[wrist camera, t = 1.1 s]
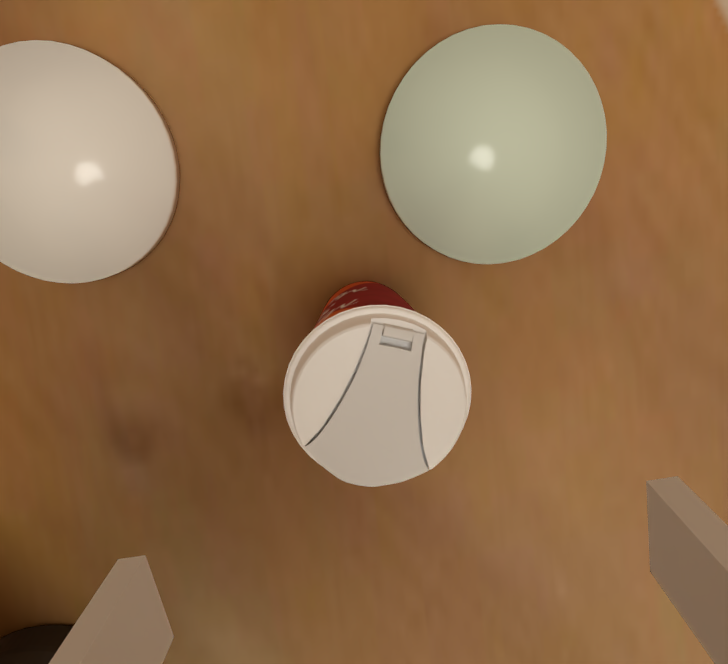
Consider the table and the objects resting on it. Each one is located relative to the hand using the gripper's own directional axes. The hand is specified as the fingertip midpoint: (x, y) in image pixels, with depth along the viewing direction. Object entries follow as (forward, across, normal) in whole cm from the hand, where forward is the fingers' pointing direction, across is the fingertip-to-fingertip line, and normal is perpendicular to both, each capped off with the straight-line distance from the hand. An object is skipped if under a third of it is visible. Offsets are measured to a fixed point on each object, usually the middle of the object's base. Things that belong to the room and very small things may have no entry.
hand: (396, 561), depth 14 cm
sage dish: (+22, -8, -10) cm, 25 cm away
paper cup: (+21, +1, -1) cm, 21 cm away
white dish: (+20, +16, -13) cm, 29 cm away
